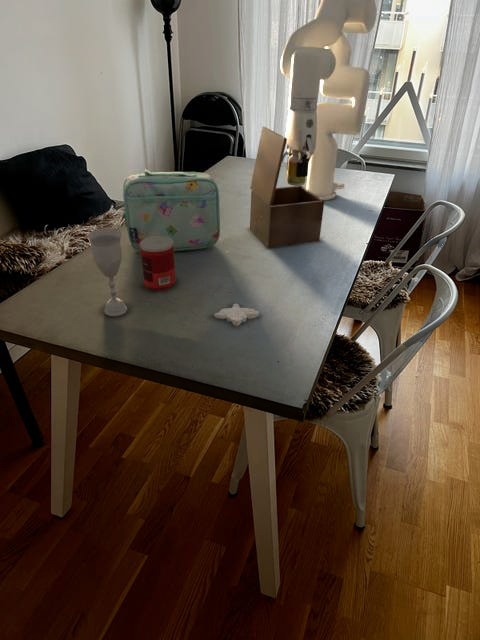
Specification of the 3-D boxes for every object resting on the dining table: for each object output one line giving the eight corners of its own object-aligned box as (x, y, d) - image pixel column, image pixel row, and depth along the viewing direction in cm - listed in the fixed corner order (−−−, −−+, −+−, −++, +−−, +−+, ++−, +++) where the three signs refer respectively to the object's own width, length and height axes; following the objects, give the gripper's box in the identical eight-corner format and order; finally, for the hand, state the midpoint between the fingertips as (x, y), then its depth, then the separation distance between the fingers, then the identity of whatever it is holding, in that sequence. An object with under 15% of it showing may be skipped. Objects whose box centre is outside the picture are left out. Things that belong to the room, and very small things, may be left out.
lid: (265, 126, 130) (262, 126, 130) (287, 138, 118) (284, 138, 118) (252, 188, 138) (250, 188, 138) (272, 205, 127) (269, 205, 127)
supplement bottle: (291, 179, 137) (294, 145, 132) (308, 182, 135) (311, 148, 130) (283, 183, 133) (285, 149, 128) (300, 187, 131) (303, 152, 126)
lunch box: (125, 257, 127) (115, 179, 115) (125, 242, 135) (115, 167, 123) (221, 250, 132) (221, 174, 120) (215, 236, 140) (215, 163, 128)
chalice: (102, 301, 108) (90, 228, 98) (132, 301, 108) (123, 228, 98) (97, 319, 102) (84, 243, 92) (129, 318, 102) (119, 242, 92)
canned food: (180, 278, 118) (178, 238, 112) (166, 293, 112) (163, 251, 105) (153, 273, 120) (150, 233, 114) (138, 287, 114) (133, 246, 107)
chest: (297, 223, 150) (301, 185, 144) (319, 241, 139) (324, 201, 132) (249, 229, 145) (251, 190, 139) (268, 248, 134) (270, 207, 127)
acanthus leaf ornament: (259, 316, 104) (259, 309, 103) (239, 329, 100) (240, 322, 99) (233, 304, 108) (233, 297, 107) (213, 316, 104) (213, 309, 103)
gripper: (331, 109, 117) (322, 181, 127) (301, 98, 130) (295, 164, 140) (304, 110, 115) (298, 183, 125) (276, 99, 128) (272, 166, 138)
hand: (296, 172), depth 133 cm, fingers closed on supplement bottle, 5 cm apart
